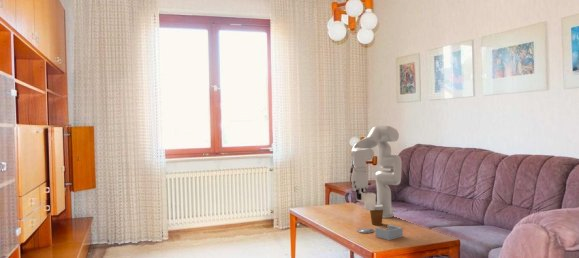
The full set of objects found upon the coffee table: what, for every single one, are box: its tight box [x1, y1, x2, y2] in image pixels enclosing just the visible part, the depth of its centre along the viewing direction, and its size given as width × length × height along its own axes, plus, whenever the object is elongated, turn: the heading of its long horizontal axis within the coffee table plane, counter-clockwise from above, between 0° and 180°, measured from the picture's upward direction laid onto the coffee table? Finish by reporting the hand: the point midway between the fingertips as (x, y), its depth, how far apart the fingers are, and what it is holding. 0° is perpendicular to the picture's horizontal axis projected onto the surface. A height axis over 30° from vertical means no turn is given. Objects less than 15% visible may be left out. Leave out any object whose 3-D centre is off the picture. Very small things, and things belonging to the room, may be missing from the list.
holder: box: [374, 224, 404, 241], centre depth 250 cm, size 11×10×5 cm
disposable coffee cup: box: [369, 203, 384, 226], centre depth 279 cm, size 10×10×12 cm
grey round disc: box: [356, 227, 375, 234], centre depth 262 cm, size 10×10×1 cm
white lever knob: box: [356, 191, 377, 211], centre depth 263 cm, size 13×6×9 cm, turn 37°
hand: (360, 199), depth 266 cm, fingers closed on white lever knob, 2 cm apart
